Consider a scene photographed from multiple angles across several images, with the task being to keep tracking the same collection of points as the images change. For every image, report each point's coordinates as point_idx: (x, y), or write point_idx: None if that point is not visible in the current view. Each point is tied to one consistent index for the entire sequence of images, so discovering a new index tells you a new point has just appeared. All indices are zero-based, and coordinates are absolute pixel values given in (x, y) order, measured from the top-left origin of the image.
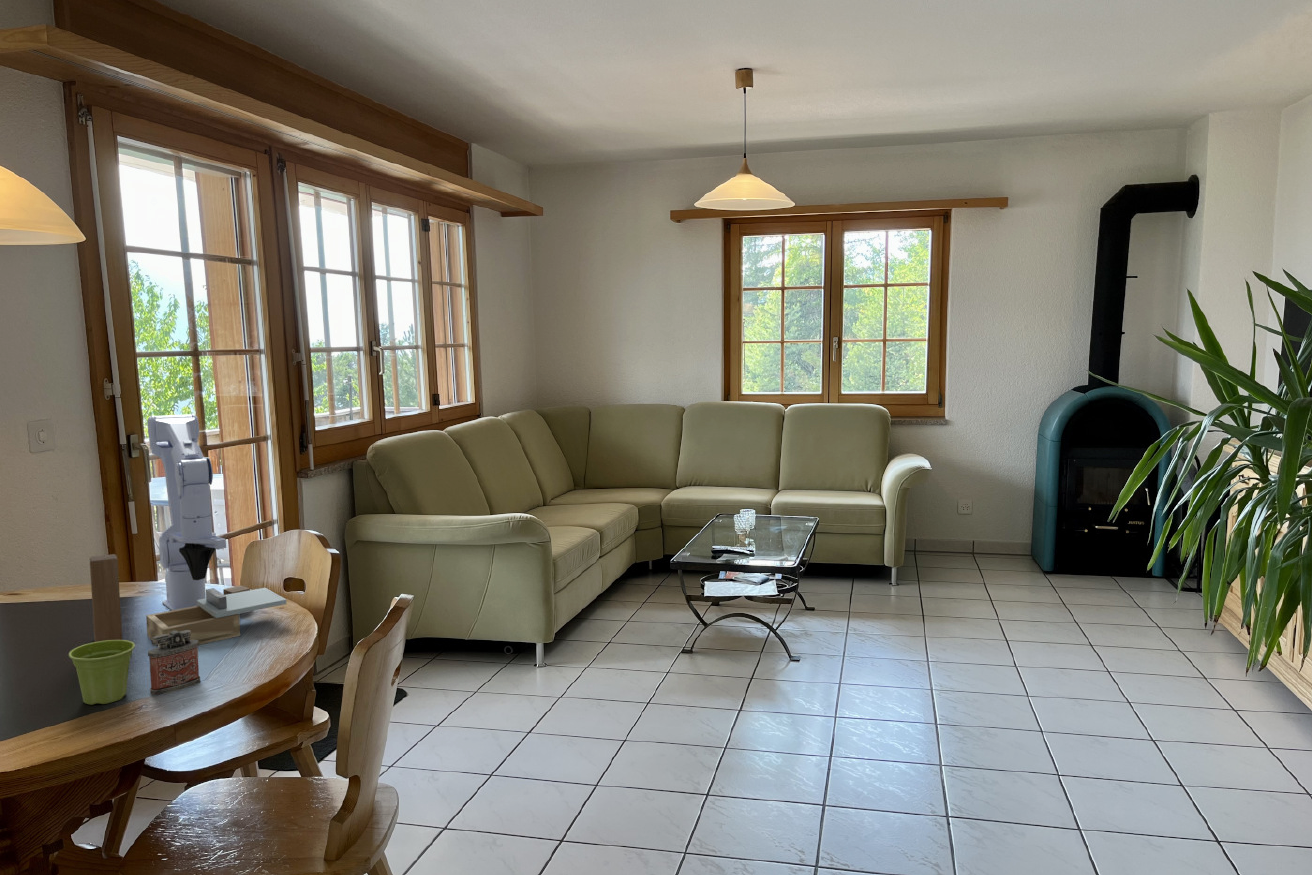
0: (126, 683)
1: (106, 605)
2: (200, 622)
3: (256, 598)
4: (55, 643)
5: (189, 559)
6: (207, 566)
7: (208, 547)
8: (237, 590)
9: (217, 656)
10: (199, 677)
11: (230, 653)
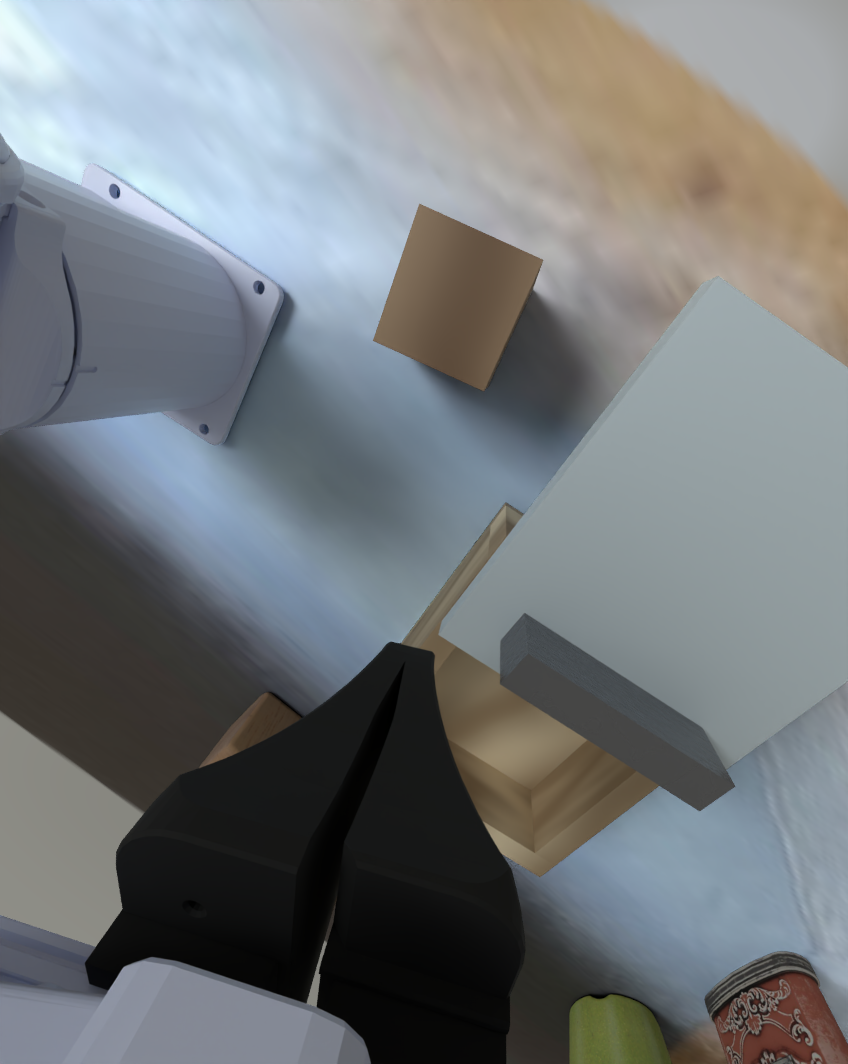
0: (669, 1058)
1: None
2: (631, 806)
3: (795, 546)
4: (175, 761)
5: (337, 888)
6: (439, 712)
7: (502, 1039)
8: (485, 336)
9: (745, 815)
10: (816, 980)
11: (780, 791)
